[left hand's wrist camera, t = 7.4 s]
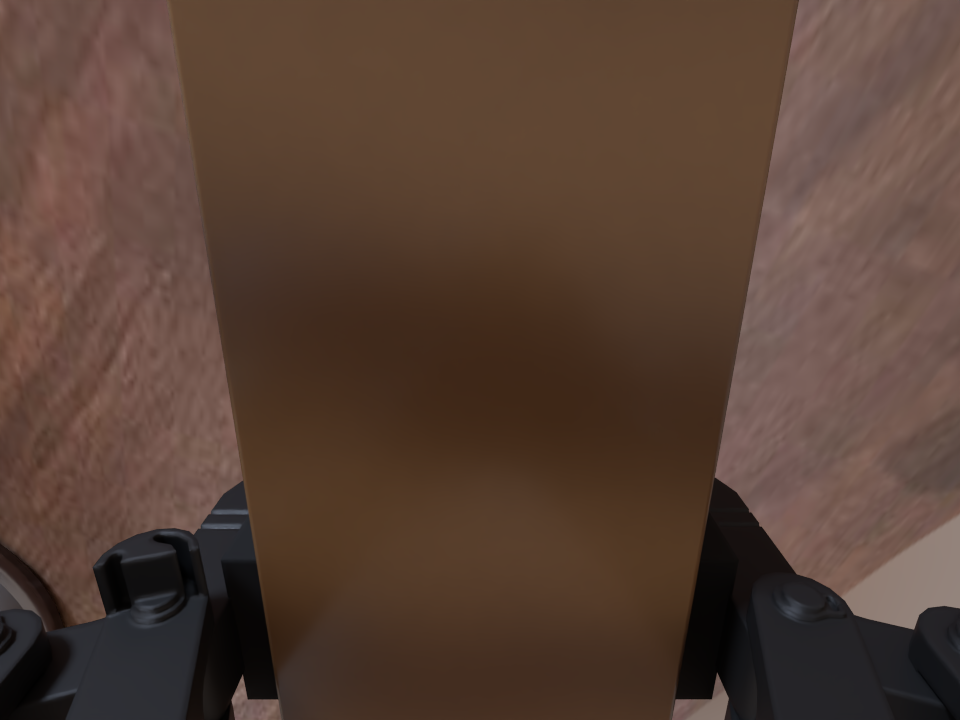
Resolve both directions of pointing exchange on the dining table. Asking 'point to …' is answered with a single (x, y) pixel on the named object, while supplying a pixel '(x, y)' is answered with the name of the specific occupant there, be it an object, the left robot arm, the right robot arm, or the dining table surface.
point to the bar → (479, 331)
